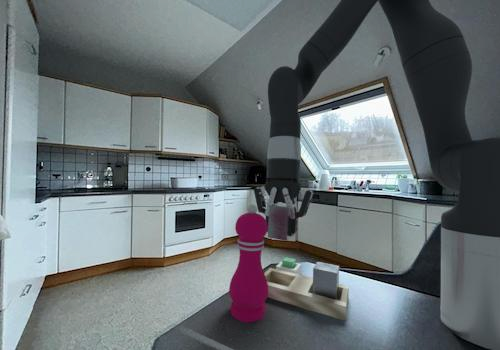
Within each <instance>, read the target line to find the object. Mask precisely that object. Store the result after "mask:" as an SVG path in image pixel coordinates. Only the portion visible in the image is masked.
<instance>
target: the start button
mask: <svg viewBox="0 0 500 350" xmlns="http://www.w3.org/2000/svg"><path fill="white" fill-rule="evenodd" d="M296 263H297V259H296V258H290V257H284V258H283V259H282V266H283V267H287V268H292V269H294V268H295V267H296Z"/></svg>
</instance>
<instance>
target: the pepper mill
mask: <svg viewBox="0 0 500 350" xmlns="http://www.w3.org/2000/svg"><path fill="white" fill-rule="evenodd" d="M257 212H258V208H257V205H255V204H249V205H248V207H247V213H243V214H241V215H240V216H238V218H237V219H236V222H235V225H234V227H235V232H236V234H237V236H238V237H239V238H238V239H237V245H236V246H237V248H238V249H239V250H238V251H239V259H238V264H237V267H236V269H235V271H234V274H233V275H232V277H231V280H230V284H229V289H228V294H229V297H230V299H231V300H232V301H231V304H230V315H231V316H232V317H233V318H234V319H236V320H238V321H240V322H243V323H253V322H257V321H260V320H261V319H263V318H264V317H265V314H266V304H265V302H266V300H267V299H268V298H269V297H268V283H267V279H266V277H265V274H264V273H265V272H264V269H263V266H262V261H261V260H262V250H264V249H265V240H264V237H265V236H266V235H267V234H268V232H267V229H268V226H267V222H266V217H264V216H263V215H261V214H259V213H257Z"/></svg>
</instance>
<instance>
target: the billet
mask: <svg viewBox="0 0 500 350" xmlns="http://www.w3.org/2000/svg"><path fill="white" fill-rule="evenodd" d="M312 268H313V269H312V272H313V273H312V278H313V294H316V295H320V296H323V297H327V298H331V299H335V300H338V289H339V284H340V282H339V281H340V280H339V279H340V276H339V275H340V265H336V264H331V263H325V262H322V261H317V262H316V263H315V264H314V267H312Z"/></svg>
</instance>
